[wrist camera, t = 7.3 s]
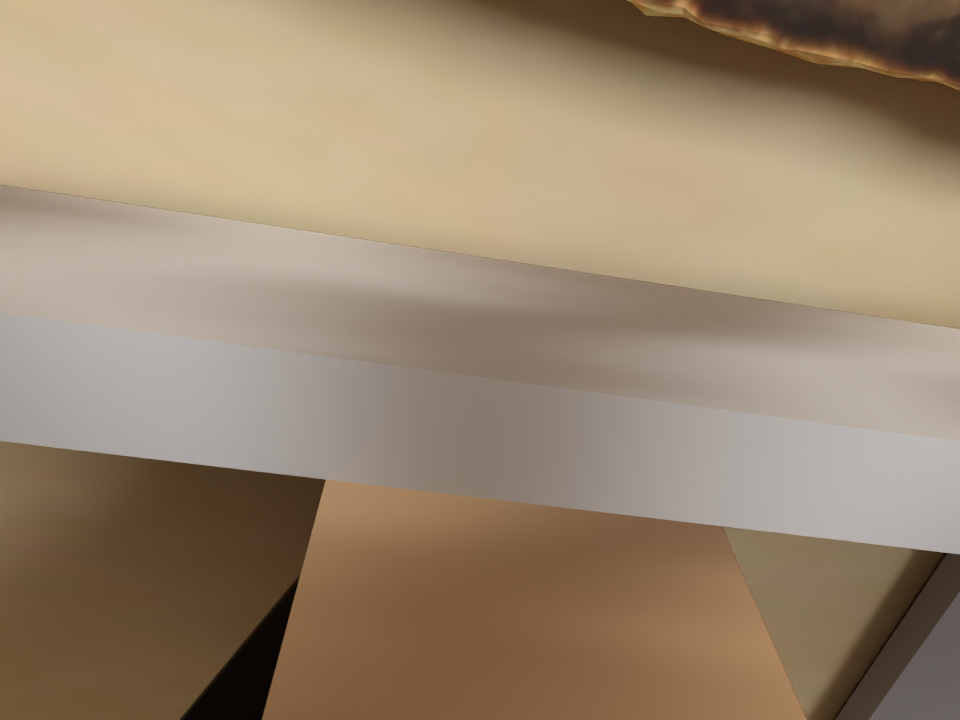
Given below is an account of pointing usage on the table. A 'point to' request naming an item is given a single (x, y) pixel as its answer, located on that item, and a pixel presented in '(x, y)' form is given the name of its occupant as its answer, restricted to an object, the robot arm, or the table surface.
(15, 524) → the table surface
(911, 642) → the rubber mat
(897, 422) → the wood and metal bracket
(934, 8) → the shard
